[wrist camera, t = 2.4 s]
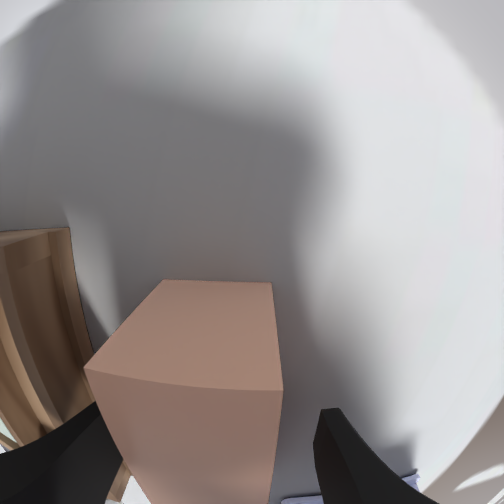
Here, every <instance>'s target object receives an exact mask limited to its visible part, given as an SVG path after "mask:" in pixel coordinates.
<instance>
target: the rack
mask: <svg viewBox="0 0 504 504" xmlns="http://www.w3.org/2000/svg"><path fill="white" fill-rule="evenodd" d="M93 356H94V353H93V350H92V346H91V343H90V339H89V335H88V331H87V327H86V323H85V319H84V315H83V311H82V306H81V301H80V297H79V291H78V286H77V281H76V275H75V268H74V262H73V254H72V247H71V238H70V228H69V227H68V228H48V229H30V230H14V231H0V418H1V420H2V421H3V423H4V424H5V426H6V427H7V429H8V430H9V432H10V433H11V435H12V436H13V437H14V439H15V440H16V442H17V443H16V442H15V441H13V440H11V439H10V438H8V437H7V436H5V435H4V434H2V433H1V432H0V444H2V445H3V446H5V447H6V448H8V449H9V450H14V449H16V448H19V447H22V446H24V445H27V444H29V443H31V442H33V441H35V440H37V439H39V438H41V437H43V436H45V435H46V434H48V433H50V432H51V431H53V430H54V429H56V428H58V427H59V426H61V425H62V424H64V423H65V422H67V421H68V420H70V419H71V418H72V417H74V416H75V415H77V414H78V413H79V412H81V411H82V410H83V409H85V408H86V407H87V406H89V405H90V404H92V403H93V402H94V401H96V400H95V398H94V395H93V393H92V390H91V388H90V385H89V382H88V379H87V377H86V374H85V371H84V368H83V367H84V366H85V365H86V364H87V363H88V362H89V360H90V359H91V358H92V357H93ZM130 476H133V475H132V473H131V471H130V469H129V468H128V466H127V464H126V462H125V461H124V459H123V461H122V464H121V466H120V468H119V470H118V473H117V475H116V477H115V479H114V482H113V484H112V486H111V488H110V491H109V493H108V496H107V499H110V500H113V501H116V502H119V503H120V502H121V499H122V496H123V494H124V491H125V489H126V486H127V483H128V481H129V478H130Z"/></svg>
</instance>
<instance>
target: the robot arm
mask: <svg viewBox="0 0 504 504" xmlns="http://www.w3.org/2000/svg"><path fill="white" fill-rule="evenodd" d="M313 449H314V459H315V468H316V472H317V477H318V481H319V486H320V490H321V494H322V495H320V496H310V497H299V498H287V499H284V500H282V502H281V504H439V503H437V502H435V501H433V500H432V499H430V498H428V497H426V496H425V495H423V494H421V493H420V491H419V489H418V487H417V484H416V483H417V482H418V480H419V479H420V476H419V474H414V475H411V476H408V477H405V478H402V479H401V478H400V477H399V476H398V475H396V474H395V473H394V472H393V471H392V470H391V469H390V468H389V467H388V466H387V465H386V464H385V463H384V462H383V461H382V460H381V459H380V458H379V457H378V456H377V455H376V454H375V453H374V452H373V451H372V450H371V448H370V447H369V446H368V445H367V444H366V443H365V442H364V440H363V439H362V438H361V437H360V435H359V434H358V433H357V432H356V430H355V429H354V428H353V426H352V425H351V424H350V422H349V421H348V420H347V418H346V417H345V415H344V414H343V413H342V411H341V410H340V409H339V408H331V409H321V413H320V417H319V421H318V425H317V429H316V433H315V437H314V441H313ZM122 461H123V457H122V455H121V453H120V452H119V450H118V448H117V446H116V444H115V442H114V440H113V438H112V436H111V434H110V432H109V430H108V428H107V425H106V423H105V421H104V419H103V417H102V414H101V412H100V410H99V407H98V405H97V403H96V401H94V402H93V403H92V404H90V405H89V406H87V407H86V408H85V409H83V410H82V411H81V412H79V413H78V414H77V415H75V416H74V417H72V418H71V419H70V420H68V421H67V422H65V423H64V424H62V425H61V426H59V427H58V428H56V429H54V430H53V431H51V432H50V433H48V434H46V435H45V436H43V437H41V438H39V439H37V440H35V441H33V442H31V443H29V444H27V445H24V446H22V447H19V448H16V449H14V450H11V451H8V452H5V453H1V454H0V504H105V502H106V498H107V496H108V493H109V491H110V488H111V486H112V484H113V482H114V479H115V477H116V475H117V473H118V470H119V468H120V466H121V464H122Z"/></svg>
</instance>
